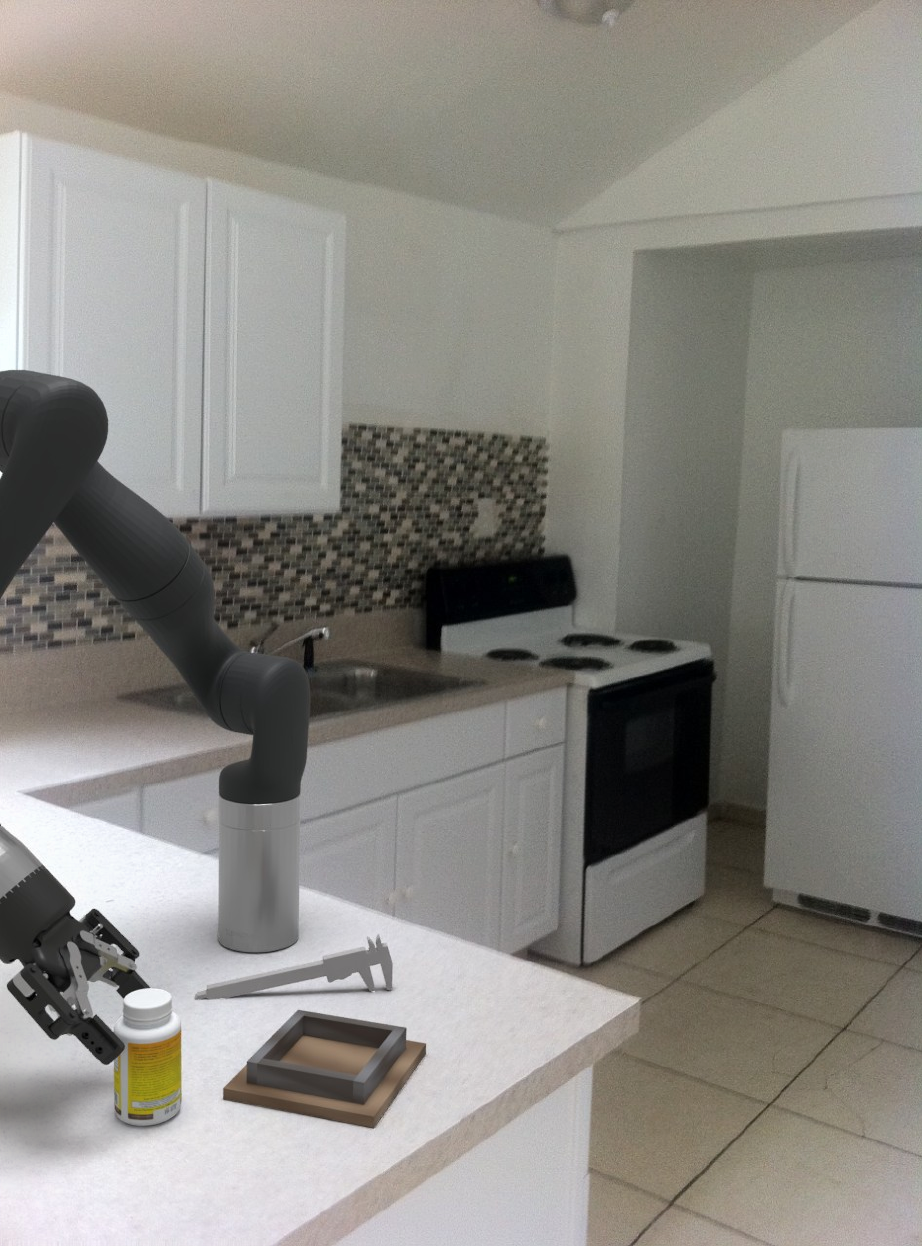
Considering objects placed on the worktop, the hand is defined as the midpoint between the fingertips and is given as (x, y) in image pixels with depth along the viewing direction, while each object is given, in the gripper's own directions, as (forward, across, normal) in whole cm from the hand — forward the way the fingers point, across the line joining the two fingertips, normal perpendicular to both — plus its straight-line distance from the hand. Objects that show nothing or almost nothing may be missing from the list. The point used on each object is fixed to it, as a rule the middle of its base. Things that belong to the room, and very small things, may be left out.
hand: (136, 1033), depth 106 cm
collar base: (+15, +9, -6) cm, 18 cm away
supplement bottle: (+6, 0, +4) cm, 7 cm away
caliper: (+10, +25, 0) cm, 27 cm away
